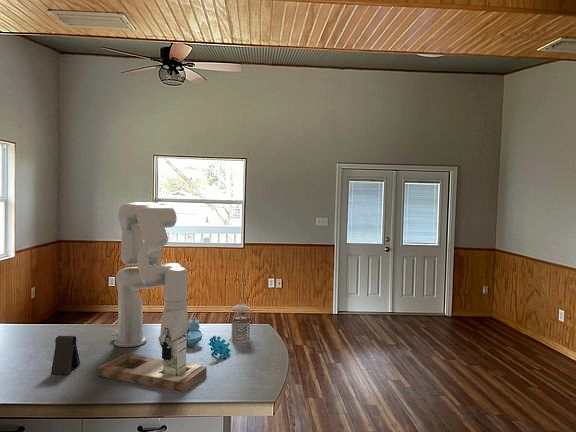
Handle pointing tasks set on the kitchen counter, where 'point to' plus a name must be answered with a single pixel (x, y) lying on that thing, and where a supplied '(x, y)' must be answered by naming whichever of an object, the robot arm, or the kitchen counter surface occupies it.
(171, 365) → the syrup box
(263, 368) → the kitchen counter surface
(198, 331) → the light blue rounded piece
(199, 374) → the tray
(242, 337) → the french press
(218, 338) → the gear
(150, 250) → the robot arm
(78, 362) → the phone stand
